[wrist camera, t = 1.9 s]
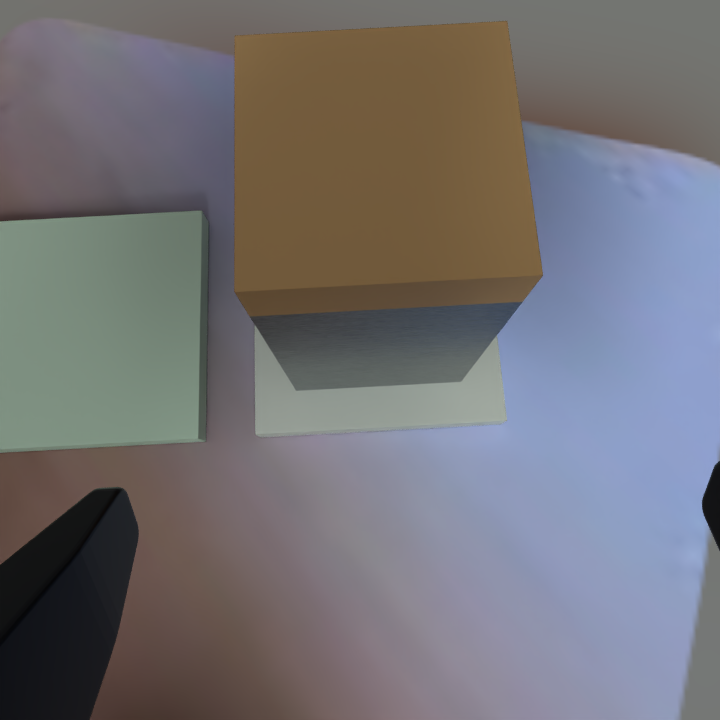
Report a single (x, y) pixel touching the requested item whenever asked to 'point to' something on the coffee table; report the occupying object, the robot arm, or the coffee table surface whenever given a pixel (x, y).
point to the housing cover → (380, 171)
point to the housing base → (382, 344)
